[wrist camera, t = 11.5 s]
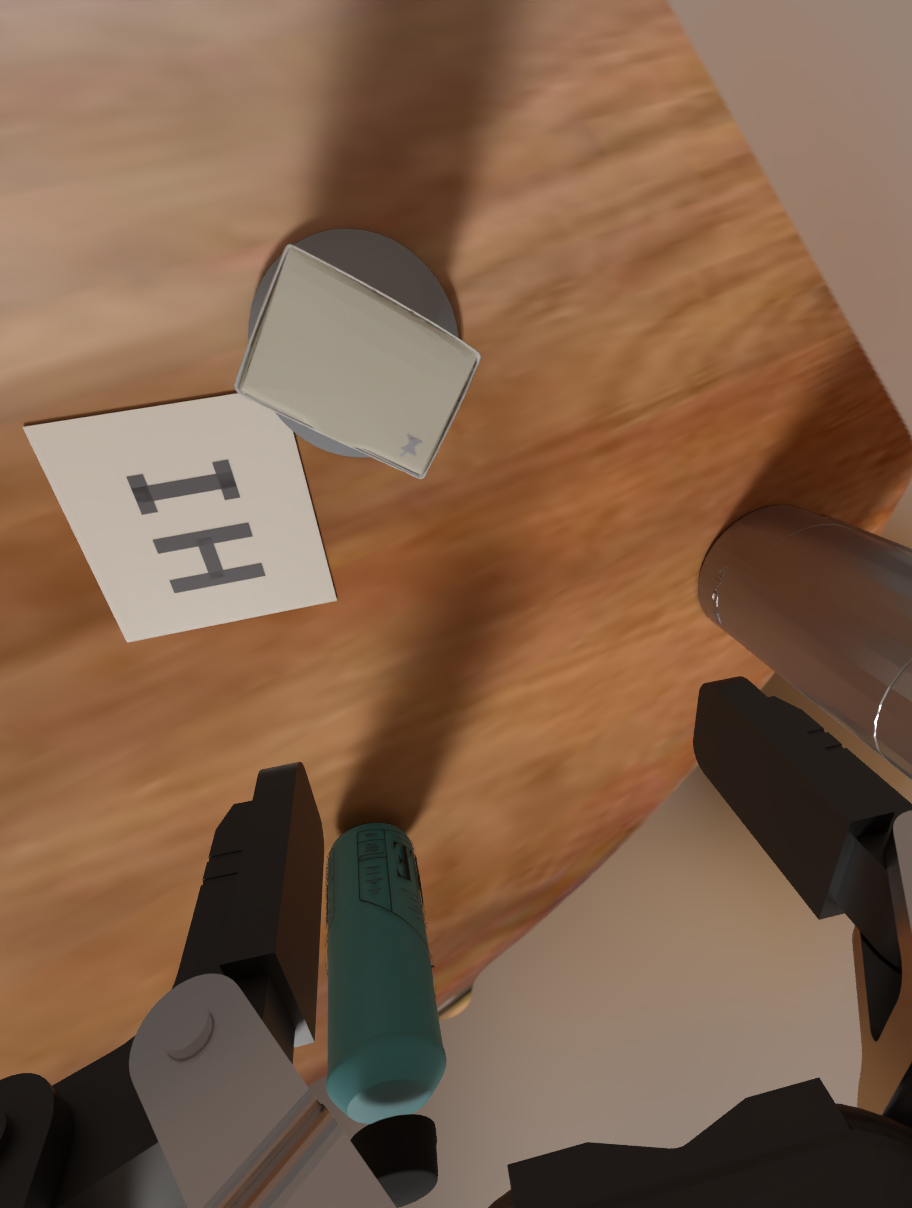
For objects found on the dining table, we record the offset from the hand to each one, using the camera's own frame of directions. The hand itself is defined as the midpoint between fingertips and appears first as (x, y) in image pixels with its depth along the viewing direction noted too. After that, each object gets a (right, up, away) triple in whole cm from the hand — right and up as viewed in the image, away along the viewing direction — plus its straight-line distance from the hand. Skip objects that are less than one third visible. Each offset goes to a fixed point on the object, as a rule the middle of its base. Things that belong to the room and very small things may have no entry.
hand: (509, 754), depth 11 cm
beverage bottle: (-8, -15, +31) cm, 35 cm away
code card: (-15, +7, +18) cm, 25 cm away
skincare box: (-6, +15, +16) cm, 23 cm away
